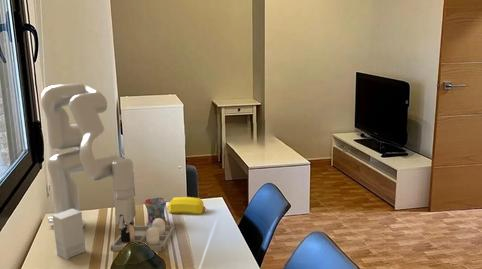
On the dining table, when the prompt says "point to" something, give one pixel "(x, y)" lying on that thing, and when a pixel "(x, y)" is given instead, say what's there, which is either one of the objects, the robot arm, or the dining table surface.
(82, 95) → the robot arm
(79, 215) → the skincare box
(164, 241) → the carton
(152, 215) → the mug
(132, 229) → the egg
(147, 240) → the far egg
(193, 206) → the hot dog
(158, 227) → the egg
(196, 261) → the dining table surface
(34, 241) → the dining table surface
